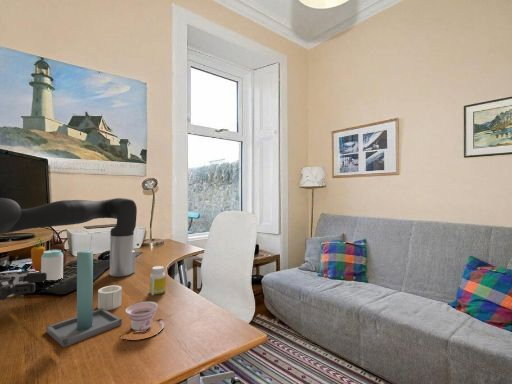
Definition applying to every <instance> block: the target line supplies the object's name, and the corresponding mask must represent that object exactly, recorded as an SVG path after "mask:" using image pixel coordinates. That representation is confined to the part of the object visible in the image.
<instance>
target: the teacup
mask: <svg viewBox="0 0 512 384" xmlns="http://www.w3.org/2000/svg"><path fill="white" fill-rule="evenodd" d="M158 306H159V304H158V303H157V302H155V301H142V302H141V301H140V302H137V303H134V304H131V305H129V306H127V307H126V309H125V313H126V315H128V316H129V319H130V321H131V322H130V327H131V329H132V330H134V332H136V331H140V332H141V331H145V330H147V329H148V330H149V328H151V327H150V326H151V325H152V322H153V318H154V317H155V315H156V314H157V311H158ZM156 321H158V322H160V323H161V324H162V329H163V328H164V329H165V326H166V325H165V323H164V321H163V320H161V319H157V320H156ZM162 329H161V330H162ZM164 329H163V330H164ZM148 330H147V331H148ZM161 330H160V331H161ZM163 330H162V331H163ZM160 331H159V332H160ZM162 331H161V332H162ZM145 332H146V331H145ZM161 332H160V333H161ZM156 334H157V333H156ZM157 335H158V334H157ZM119 336H120V337H121V336H122V335H119ZM120 337H119V338H120ZM122 338H123V337H122ZM124 339H126V338H124ZM133 340H135V339H133Z"/></svg>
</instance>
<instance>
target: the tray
mask: <svg viewBox="0 0 512 384" xmlns="http://www.w3.org/2000/svg"><path fill="white" fill-rule="evenodd" d="M122 320H123V319H122V318H120V317H119V316H117V315H115V314H113V313H112V312H109V310H105V309H103V308H102V309H96V310H93V326H92V327H90V328H88V329H85V330H78V329H77V316H75V317H74V316H73V317H71V318H69V319H65V320H63V321H59V322H56V323H54V324H50V325H47V326H46V327H45V329H46V331H45V332H46V334H48V335H49V337H51V338H52V339H53V340H54V341H56V342H57V343H58V344H59V345H60V346H61V347H62V348H66V347H68V346H70V345H73V344H75V343H79V342H81V341H83V340H86V339H88V338H90V337H91V338H92V337H94V336H96V335H99V334H100V333H103V332H105V331H106V332H107V331H109V330H111V329H114V328H115V327H116V328H117V327H118V326H121V325H123V324H122V323H123V321H122Z"/></svg>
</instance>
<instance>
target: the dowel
mask: <svg viewBox="0 0 512 384" xmlns="http://www.w3.org/2000/svg"><path fill="white" fill-rule="evenodd" d="M93 281H94V251H93V250H81V251H77V252H76V317H77V329H78V330H85V329H88V328H90V327H92V326H93V311H94V305H93V304H94V298H93V297H94V295H93V293H94V291H93V290H94V288H93V287H94V283H93Z"/></svg>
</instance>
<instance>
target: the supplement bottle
mask: <svg viewBox="0 0 512 384" xmlns="http://www.w3.org/2000/svg"><path fill="white" fill-rule="evenodd" d="M164 270H165V267H164V266H162V265H161V266H160V265H155V266H153V267H152V268H151V273H150V275H149V294H150V295H151V296H160V295H163V294H165V293H166V278H167V277H166V273H165V272H164Z"/></svg>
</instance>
